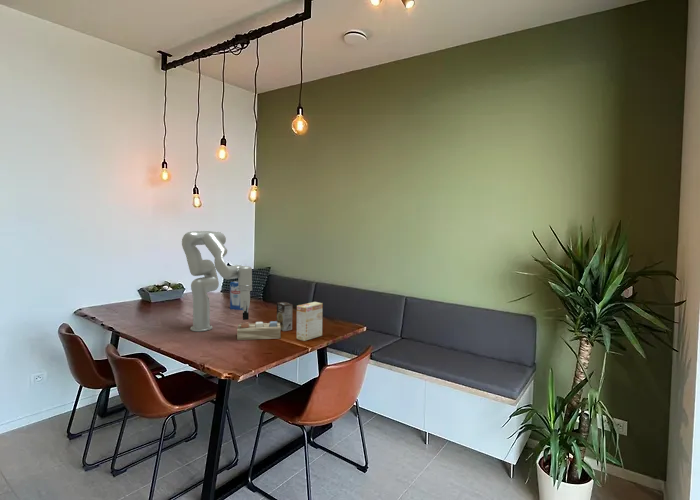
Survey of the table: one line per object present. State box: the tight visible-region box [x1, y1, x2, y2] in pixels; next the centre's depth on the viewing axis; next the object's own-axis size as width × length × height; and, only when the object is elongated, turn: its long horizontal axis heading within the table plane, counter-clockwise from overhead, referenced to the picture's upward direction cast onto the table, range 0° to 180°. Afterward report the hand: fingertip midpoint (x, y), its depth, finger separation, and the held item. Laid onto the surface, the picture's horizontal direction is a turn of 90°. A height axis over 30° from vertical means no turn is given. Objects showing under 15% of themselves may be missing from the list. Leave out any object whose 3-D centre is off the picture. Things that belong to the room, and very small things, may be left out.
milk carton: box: [229, 281, 243, 311], centre depth 303 cm, size 10×6×20 cm, turn 73°
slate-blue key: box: [269, 320, 277, 327], centre depth 236 cm, size 4×4×4 cm
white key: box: [255, 321, 264, 327], centre depth 235 cm, size 4×4×4 cm
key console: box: [236, 322, 282, 341], centre depth 235 cm, size 12×24×6 cm, turn 102°
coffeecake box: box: [296, 301, 324, 342], centre depth 235 cm, size 15×7×20 cm, turn 141°
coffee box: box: [276, 301, 293, 332], centre depth 251 cm, size 9×6×16 cm
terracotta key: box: [240, 321, 250, 328], centre depth 233 cm, size 4×4×4 cm
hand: (245, 319), depth 233 cm, fingers closed
